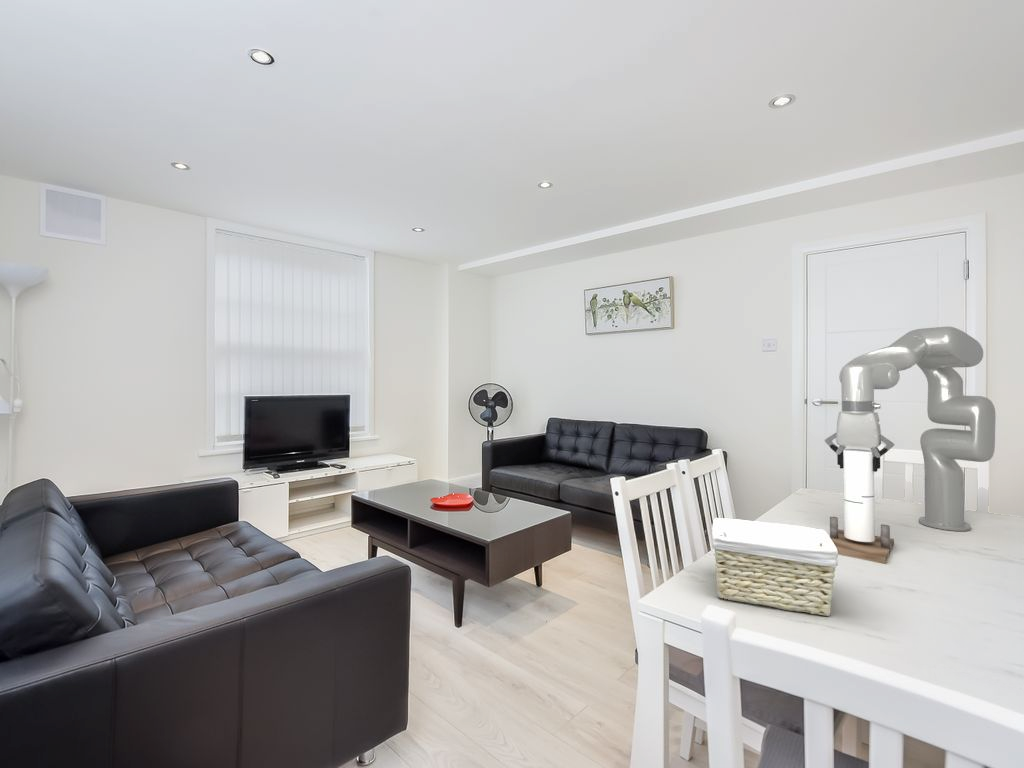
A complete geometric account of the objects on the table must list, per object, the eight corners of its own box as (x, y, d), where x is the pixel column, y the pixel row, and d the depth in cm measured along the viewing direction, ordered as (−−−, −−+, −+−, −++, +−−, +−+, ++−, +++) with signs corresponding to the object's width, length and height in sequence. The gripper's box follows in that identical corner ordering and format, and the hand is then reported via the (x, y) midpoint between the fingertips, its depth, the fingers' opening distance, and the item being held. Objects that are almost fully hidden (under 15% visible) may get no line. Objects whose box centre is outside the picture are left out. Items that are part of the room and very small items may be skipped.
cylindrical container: (880, 542, 132) (879, 453, 132) (851, 541, 134) (850, 452, 133) (866, 534, 139) (865, 449, 139) (839, 533, 140) (838, 449, 140)
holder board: (836, 533, 148) (836, 509, 148) (894, 544, 139) (893, 518, 139) (822, 551, 134) (822, 524, 134) (885, 563, 124) (885, 535, 124)
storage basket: (825, 590, 110) (824, 526, 110) (841, 623, 95) (840, 549, 95) (713, 574, 120) (712, 516, 119) (711, 602, 105) (711, 535, 105)
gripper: (898, 407, 133) (898, 471, 133) (824, 406, 145) (825, 464, 145) (895, 409, 127) (895, 475, 127) (819, 407, 139) (820, 467, 139)
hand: (858, 468), depth 136 cm, fingers closed on cylindrical container, 7 cm apart
